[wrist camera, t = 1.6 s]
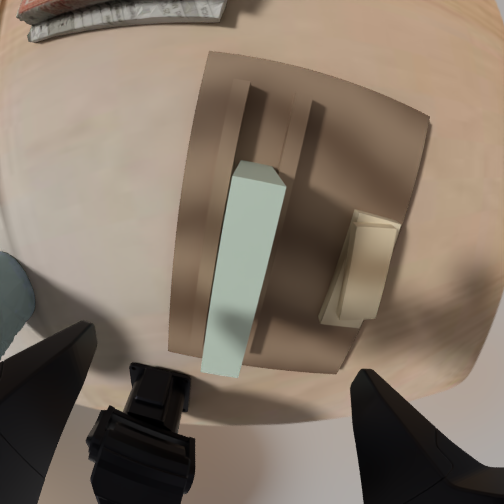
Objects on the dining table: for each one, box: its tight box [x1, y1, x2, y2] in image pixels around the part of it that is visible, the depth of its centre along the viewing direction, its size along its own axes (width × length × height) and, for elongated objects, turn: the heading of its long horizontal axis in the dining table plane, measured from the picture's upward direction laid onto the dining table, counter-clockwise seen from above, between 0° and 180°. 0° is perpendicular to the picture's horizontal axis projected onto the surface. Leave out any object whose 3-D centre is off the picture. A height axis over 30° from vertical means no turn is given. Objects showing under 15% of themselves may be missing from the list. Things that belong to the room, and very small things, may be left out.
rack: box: [168, 51, 430, 374], centre depth 20 cm, size 24×16×2 cm, turn 168°
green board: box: [201, 160, 286, 378], centre depth 16 cm, size 10×2×8 cm, turn 168°
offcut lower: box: [318, 209, 401, 328], centre depth 20 cm, size 9×4×1 cm, turn 169°
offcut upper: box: [336, 222, 397, 321], centre depth 19 cm, size 7×3×1 cm, turn 178°
